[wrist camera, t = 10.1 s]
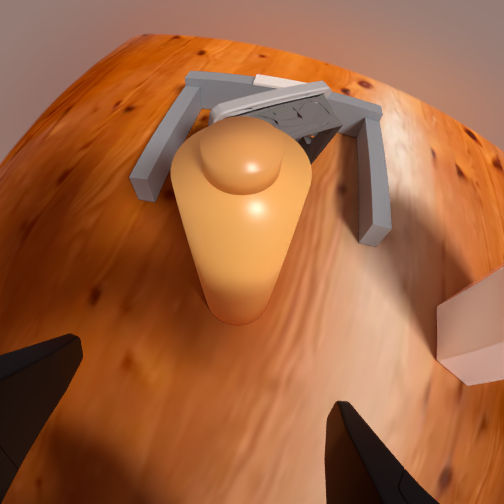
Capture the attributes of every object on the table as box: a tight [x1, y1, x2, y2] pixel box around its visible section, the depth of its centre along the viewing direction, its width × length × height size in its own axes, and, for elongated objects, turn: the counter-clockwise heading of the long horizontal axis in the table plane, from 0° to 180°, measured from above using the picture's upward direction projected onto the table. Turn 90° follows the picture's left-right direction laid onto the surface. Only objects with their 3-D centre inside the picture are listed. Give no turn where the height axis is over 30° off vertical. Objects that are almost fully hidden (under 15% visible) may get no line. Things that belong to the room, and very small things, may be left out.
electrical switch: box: [208, 81, 343, 164], centre depth 21 cm, size 9×5×9 cm, turn 119°
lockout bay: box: [129, 71, 392, 247], centre depth 25 cm, size 15×20×4 cm
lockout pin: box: [171, 116, 312, 325], centre depth 14 cm, size 4×4×14 cm
